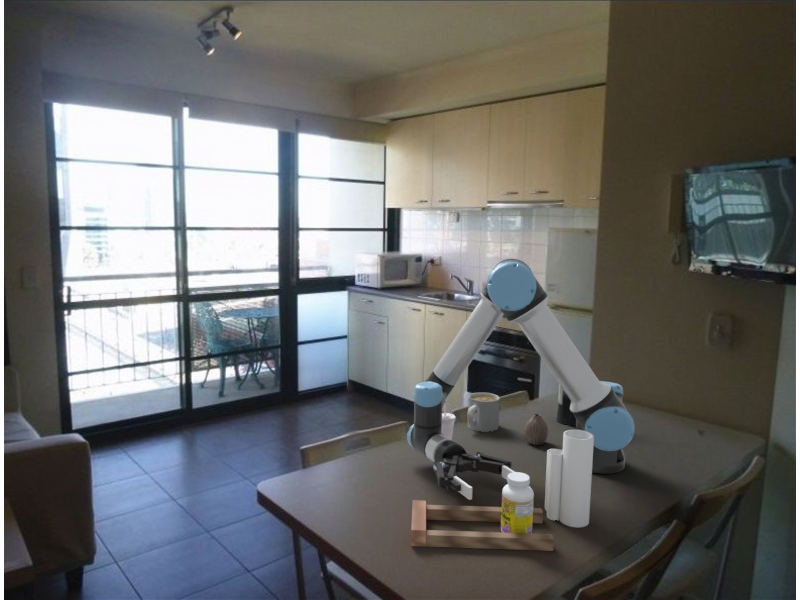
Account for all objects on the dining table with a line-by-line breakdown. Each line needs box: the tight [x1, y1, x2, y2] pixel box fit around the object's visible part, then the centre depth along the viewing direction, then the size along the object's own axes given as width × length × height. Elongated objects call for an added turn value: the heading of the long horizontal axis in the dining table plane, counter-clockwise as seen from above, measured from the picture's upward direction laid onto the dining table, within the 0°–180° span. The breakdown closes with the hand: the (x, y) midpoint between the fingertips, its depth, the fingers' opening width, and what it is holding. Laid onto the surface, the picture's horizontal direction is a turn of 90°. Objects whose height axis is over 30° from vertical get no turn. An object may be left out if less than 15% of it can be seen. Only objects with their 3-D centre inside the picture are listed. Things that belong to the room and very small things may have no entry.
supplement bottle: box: [500, 471, 535, 534], centre depth 126 cm, size 7×7×13 cm
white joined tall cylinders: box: [544, 429, 594, 528], centre depth 133 cm, size 11×7×20 cm, turn 43°
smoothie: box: [441, 400, 457, 440], centre depth 173 cm, size 6×6×14 cm
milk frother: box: [555, 383, 576, 426], centre depth 195 cm, size 14×16×15 cm
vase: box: [524, 413, 549, 446], centre depth 178 cm, size 7×7×9 cm
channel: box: [410, 499, 555, 552], centre depth 127 cm, size 29×13×4 cm, turn 88°
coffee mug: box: [466, 392, 500, 433], centre depth 190 cm, size 13×10×10 cm
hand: (496, 487), depth 131 cm, fingers open, 13 cm apart
